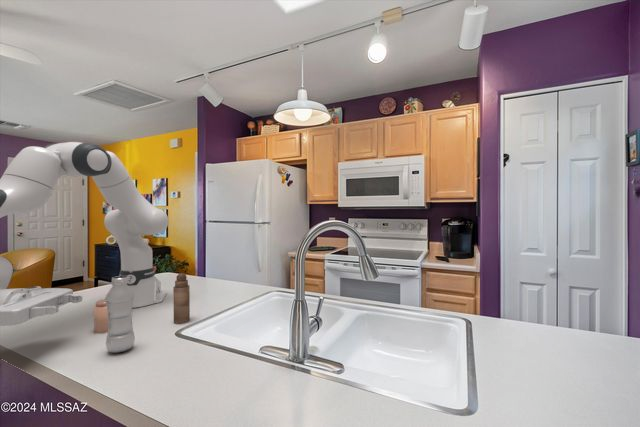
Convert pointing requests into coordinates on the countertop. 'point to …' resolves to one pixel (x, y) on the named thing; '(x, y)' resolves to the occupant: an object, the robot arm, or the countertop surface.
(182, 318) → the pepper mill
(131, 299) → the plastic bottle
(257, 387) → the countertop surface
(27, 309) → the robot arm
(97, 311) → the salt jar
